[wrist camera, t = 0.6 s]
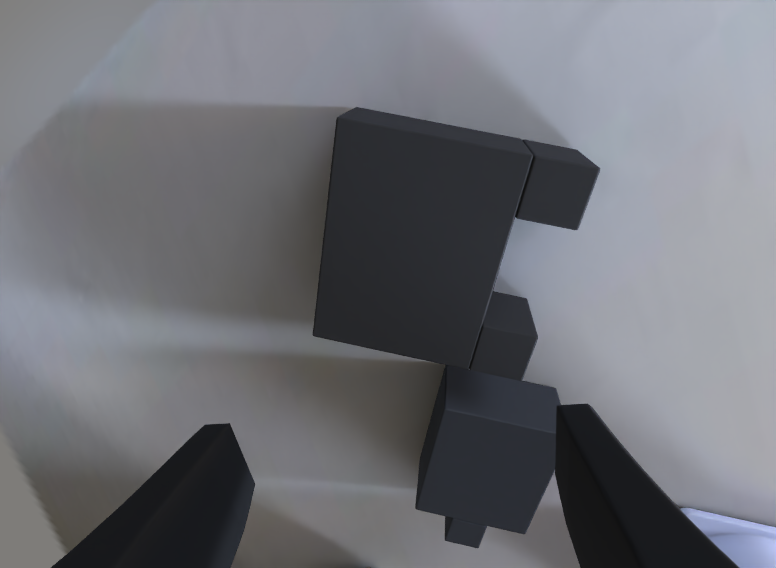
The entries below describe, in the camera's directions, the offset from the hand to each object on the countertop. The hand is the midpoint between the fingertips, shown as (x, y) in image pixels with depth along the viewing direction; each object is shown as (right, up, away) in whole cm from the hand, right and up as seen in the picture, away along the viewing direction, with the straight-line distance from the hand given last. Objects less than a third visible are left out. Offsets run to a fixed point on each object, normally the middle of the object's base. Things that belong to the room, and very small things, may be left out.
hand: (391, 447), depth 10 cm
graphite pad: (+4, -3, +12) cm, 13 cm away
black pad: (+2, +6, +8) cm, 10 cm away
